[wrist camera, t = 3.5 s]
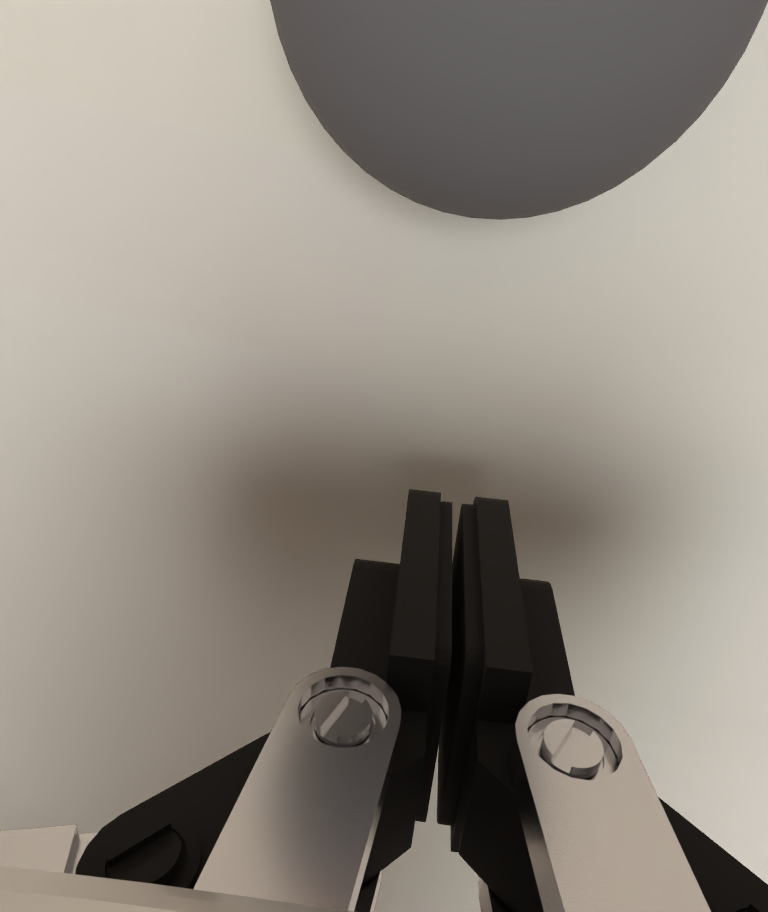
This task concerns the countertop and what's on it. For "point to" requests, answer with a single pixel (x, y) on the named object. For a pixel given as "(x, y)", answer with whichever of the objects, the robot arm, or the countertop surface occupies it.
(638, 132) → the grey rubber ball
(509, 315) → the countertop surface
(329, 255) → the countertop surface
